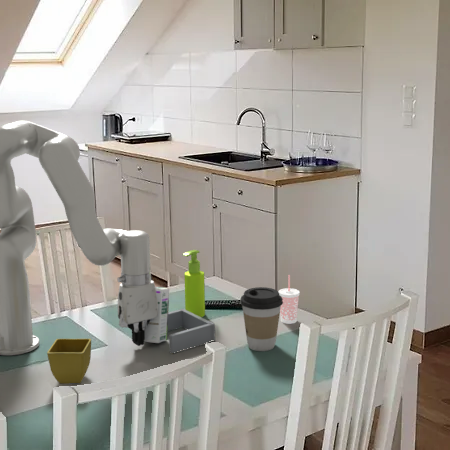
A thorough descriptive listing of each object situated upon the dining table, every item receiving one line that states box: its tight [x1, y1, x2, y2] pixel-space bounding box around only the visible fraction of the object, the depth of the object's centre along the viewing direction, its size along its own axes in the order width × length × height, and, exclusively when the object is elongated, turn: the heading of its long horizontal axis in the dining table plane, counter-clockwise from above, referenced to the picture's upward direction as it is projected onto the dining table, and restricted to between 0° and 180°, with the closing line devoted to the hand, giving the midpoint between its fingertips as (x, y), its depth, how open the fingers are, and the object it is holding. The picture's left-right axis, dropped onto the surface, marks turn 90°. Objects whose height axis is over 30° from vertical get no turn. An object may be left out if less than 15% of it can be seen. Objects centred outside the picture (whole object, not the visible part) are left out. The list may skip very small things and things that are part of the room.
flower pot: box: [46, 338, 92, 385], centre depth 175 cm, size 9×9×9 cm
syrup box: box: [144, 286, 170, 344], centre depth 197 cm, size 6×6×14 cm
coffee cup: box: [239, 286, 283, 352], centre depth 193 cm, size 11×11×15 cm
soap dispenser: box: [182, 249, 206, 318], centre depth 215 cm, size 6×7×20 cm
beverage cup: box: [277, 274, 300, 325], centre depth 211 cm, size 6×6×14 cm
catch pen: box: [167, 308, 216, 354], centre depth 200 cm, size 14×15×5 cm
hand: (138, 343), depth 194 cm, fingers closed
